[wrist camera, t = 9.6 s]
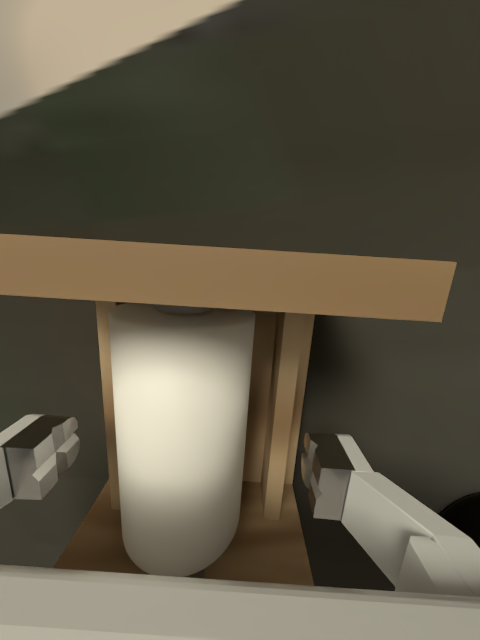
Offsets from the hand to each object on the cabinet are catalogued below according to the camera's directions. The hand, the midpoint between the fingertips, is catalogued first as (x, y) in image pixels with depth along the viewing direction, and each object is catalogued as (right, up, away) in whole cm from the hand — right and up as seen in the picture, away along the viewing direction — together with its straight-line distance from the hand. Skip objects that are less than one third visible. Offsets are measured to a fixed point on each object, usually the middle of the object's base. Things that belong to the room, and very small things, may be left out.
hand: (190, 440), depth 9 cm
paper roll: (0, 0, +1) cm, 1 cm away
